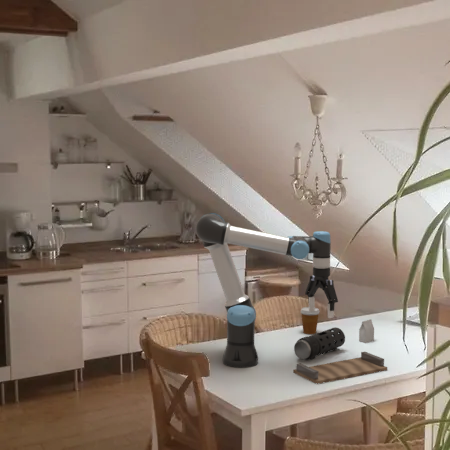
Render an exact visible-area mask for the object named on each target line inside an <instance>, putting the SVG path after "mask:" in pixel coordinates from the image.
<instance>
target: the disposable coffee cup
mask: <svg viewBox="0 0 450 450" xmlns="http://www.w3.org/2000/svg"><path fill="white" fill-rule="evenodd" d="M300 315H301V325H302V332H303V334H306V335H314V334H317V328H318V323H319V322H318V321H319V316H320V309H319V308H317V307H315V311H313V312H309V306H306V307H305V306H304V307H302V308H301V309H300Z"/></svg>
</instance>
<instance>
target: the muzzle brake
mask: <svg viewBox="0 0 450 450" xmlns="http://www.w3.org/2000/svg"><path fill="white" fill-rule="evenodd" d="M345 342H346V335H345V333H344V331H343V330H342V329H341V328H339V327H332V328H329V329H326V330H322V331H320V332H318V333H317V332H316V333H315V334H310V335H308V336H303V337H301V338H299V339H298V340H297V341H296V343H294V347H293V351H294V355H295V356H296V357H297V358H298V359H300V360H305V361H309V360H313V359H316V357H317V356H319V355H324V354H328V353H330V352H333V351H335V350H337V349H338V348H340V347H342V346H343V345H344V344H345Z"/></svg>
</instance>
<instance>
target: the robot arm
mask: <svg viewBox="0 0 450 450" xmlns="http://www.w3.org/2000/svg"><path fill="white" fill-rule="evenodd" d="M195 234H196V235H197V238H198V239H199V240H201V242H202V245H203V247H204V249H207V250H208V251H209V254H210V257H211V260H212V263H213V267H214V269H215V271H216V272H215V273H216V274H217V277H218V281H219V283H220V286H221V289H222V292H223V294H224V298H225V303H224V307H225V310H226V319H227V320H226V324H227V325H226V346H225V349H224V352H223V355H222V363H223V364H224V365H225V366H229V367H231V368H232V367H234V368H249V367H253V366H257V364H259V356H258V352H257V349H256V346H255V345H256V344H255V326H256V325H255V324H256V319H257V312H256V309H255V307H254V306H253V304H252V301H251V298H250V296H249V295H247V294H245V291H244V288H243V286H242V282H241V280H240V277H239V274H238V271H237V268H236V265H235V261H234V260H233V257H232V253H231V250H230V247H229V245H234V246H240V247H244V248H249V249H254V250H260V251H264V252H270V253H274V254H279V255H285V256H287V257H293V258H294V259H297V260H304V259H305V258H306V257H307V256H308V255H309V254H313V255H312V275H310V276H309V282H308V283H307V286H306V289H305V295H306V296H307V297H308V300H307V301H308V307H309V312H313V311H315V308H316V307H315V305H316V304H315V303H316V302H315V301H316V299H315V297H316V296H315V295H316V293H317V291H318V289H321V290H322V291H323V292H324V294H325V296H326V298H327V301H328V302H327V319H332V318H334V316H335V313H334V311H335V303H338V302H339V300H338V296H337V293H336V289H335V285H334V280H333V279H329V277H330V276H331V267H330V266H331V249H332V248H331V247H332V245H331V243H332V242H331V234H330V232H329V231H325V230H324V231H323V230H320V231H313V233H312V235H310V236H309V235H307V236H304V235H299V236H298V235H290V236H284V235H283V236H282V235H278V234H273V233H268V232H263V231H258V230H253V229H249V228H246V227H245V228H244V227H239V226H234V225H231V224H230V222H227V221H225V220H224V218H223V217H222V216H221V215H219V214H217V213H215V212H210V213H205V214H203V215H202V216H201V217H200V218H199V219H198V221H197V222H196V224H195ZM228 244H229V245H228Z"/></svg>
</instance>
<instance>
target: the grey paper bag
mask: <svg viewBox="0 0 450 450" xmlns="http://www.w3.org/2000/svg"><path fill="white" fill-rule="evenodd" d="M358 330H359V331H358V333H359V335H358V342H360V343H364V344H368V343H370V342H374V340H375V326H374V324H373V320H372V319H367V320H364V321H362V322H361V325H360V327H359V329H358Z"/></svg>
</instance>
